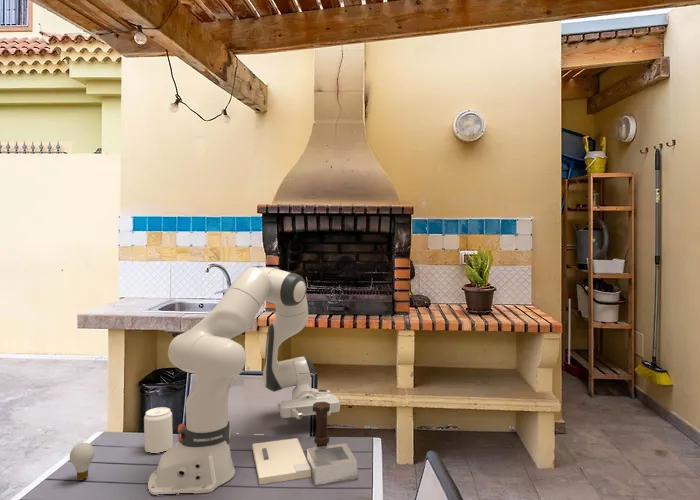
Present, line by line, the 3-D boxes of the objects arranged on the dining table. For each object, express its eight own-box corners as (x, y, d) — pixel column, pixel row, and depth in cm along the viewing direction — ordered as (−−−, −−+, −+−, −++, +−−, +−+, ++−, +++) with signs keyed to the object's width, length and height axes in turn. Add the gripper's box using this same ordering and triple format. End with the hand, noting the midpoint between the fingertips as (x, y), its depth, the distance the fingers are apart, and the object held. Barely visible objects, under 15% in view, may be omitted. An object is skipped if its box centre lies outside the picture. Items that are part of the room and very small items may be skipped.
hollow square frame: (315, 485, 126) (315, 466, 126) (307, 465, 137) (307, 448, 137) (357, 478, 130) (357, 460, 129) (345, 459, 141) (345, 443, 140)
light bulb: (99, 477, 132) (98, 441, 132) (78, 487, 127) (77, 450, 126) (87, 472, 135) (86, 437, 135) (65, 481, 130) (64, 445, 129)
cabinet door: (259, 484, 127) (259, 475, 127) (252, 449, 148) (252, 441, 148) (311, 476, 131) (310, 467, 131) (297, 443, 152) (297, 435, 152)
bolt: (329, 457, 142) (329, 407, 142) (312, 457, 142) (312, 407, 142) (331, 449, 148) (330, 401, 148) (314, 449, 148) (314, 401, 148)
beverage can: (142, 456, 144) (142, 417, 144) (146, 445, 152) (145, 408, 152) (171, 453, 146) (170, 414, 146) (173, 442, 154) (173, 405, 154)
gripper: (276, 395, 165) (281, 408, 152) (333, 389, 171) (344, 402, 158) (276, 413, 166) (282, 428, 152) (333, 407, 171) (344, 421, 158)
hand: (314, 415), depth 155 cm, fingers open, 8 cm apart
